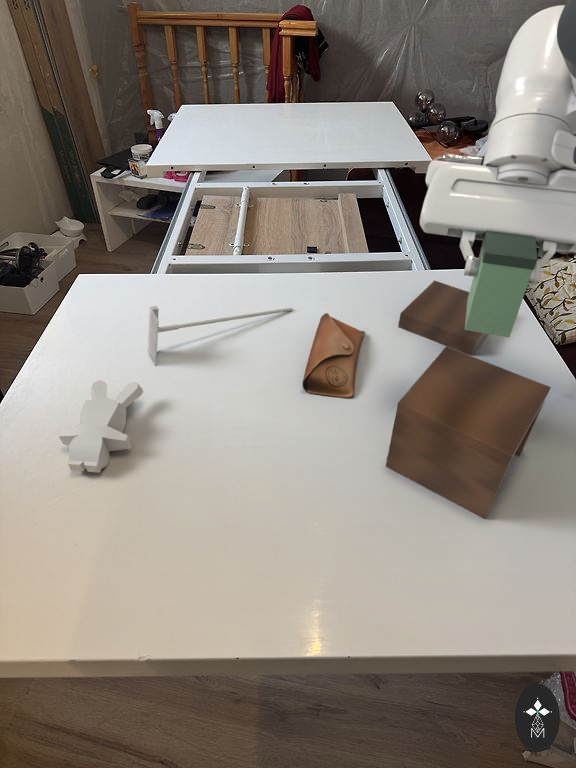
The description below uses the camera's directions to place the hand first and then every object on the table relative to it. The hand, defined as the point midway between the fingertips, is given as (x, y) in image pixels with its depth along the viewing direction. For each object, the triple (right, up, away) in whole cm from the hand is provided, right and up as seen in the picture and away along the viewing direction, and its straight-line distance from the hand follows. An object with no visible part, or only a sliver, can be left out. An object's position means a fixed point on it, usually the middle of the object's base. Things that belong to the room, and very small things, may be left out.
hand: (500, 279), depth 60 cm
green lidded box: (0, -4, +4) cm, 6 cm away
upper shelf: (-1, -22, +13) cm, 26 cm away
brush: (-36, -3, +35) cm, 50 cm away
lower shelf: (+6, -1, +38) cm, 38 cm away
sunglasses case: (-16, -8, +29) cm, 34 cm away
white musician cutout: (-50, -19, +17) cm, 56 cm away
